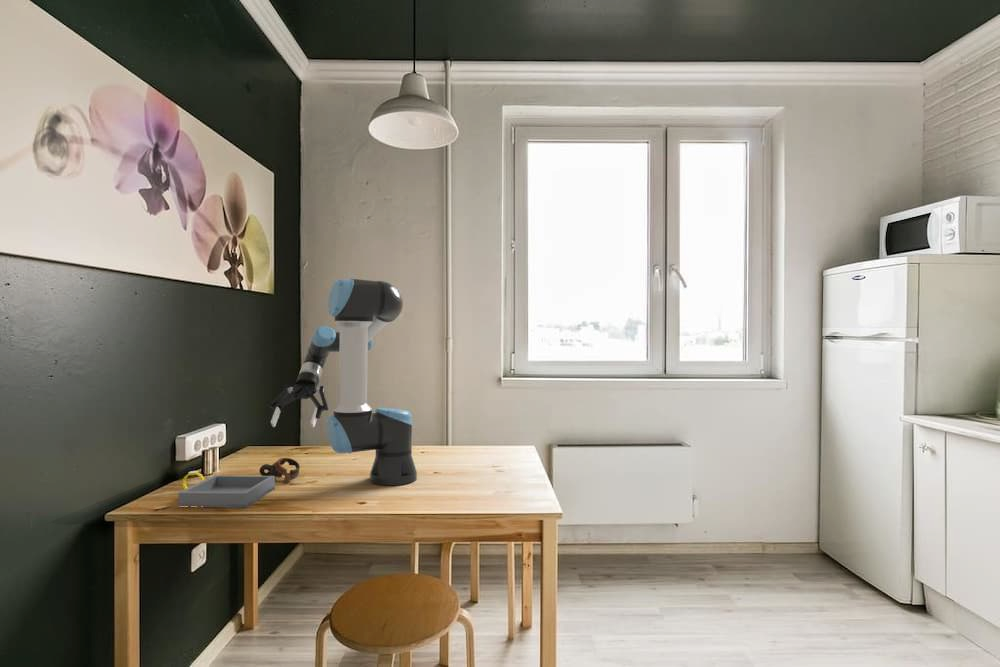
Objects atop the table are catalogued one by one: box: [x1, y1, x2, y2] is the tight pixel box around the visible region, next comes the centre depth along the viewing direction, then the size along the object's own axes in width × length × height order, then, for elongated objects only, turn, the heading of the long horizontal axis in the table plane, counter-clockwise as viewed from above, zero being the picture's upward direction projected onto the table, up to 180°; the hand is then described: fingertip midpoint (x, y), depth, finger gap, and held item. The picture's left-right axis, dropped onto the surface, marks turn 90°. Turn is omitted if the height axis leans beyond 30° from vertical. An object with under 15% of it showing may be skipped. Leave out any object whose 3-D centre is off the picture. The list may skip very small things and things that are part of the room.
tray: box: [177, 474, 276, 509], centre depth 156 cm, size 18×18×4 cm
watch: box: [182, 470, 206, 490], centre depth 162 cm, size 6×3×6 cm, turn 93°
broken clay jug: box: [259, 457, 301, 484], centre depth 173 cm, size 12×10×8 cm
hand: (292, 425), depth 184 cm, fingers open, 13 cm apart
